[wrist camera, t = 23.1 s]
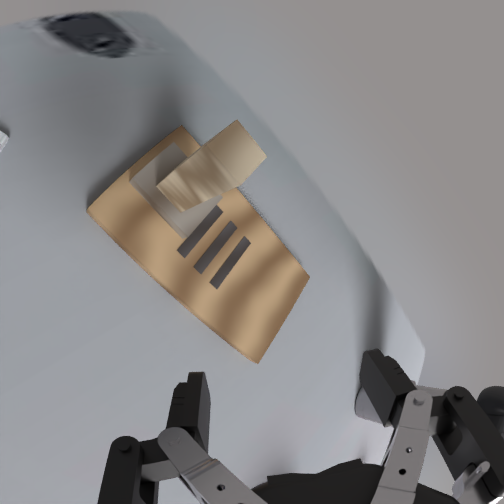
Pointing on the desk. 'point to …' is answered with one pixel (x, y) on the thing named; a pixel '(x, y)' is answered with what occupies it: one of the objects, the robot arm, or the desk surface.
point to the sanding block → (197, 177)
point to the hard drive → (3, 140)
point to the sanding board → (208, 258)
